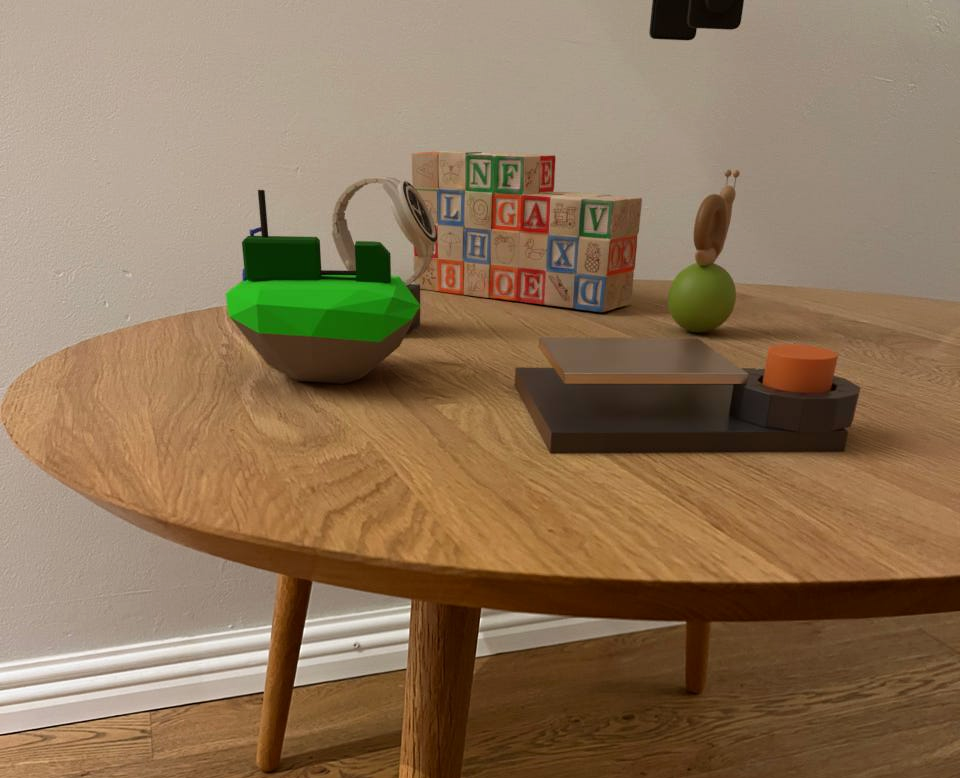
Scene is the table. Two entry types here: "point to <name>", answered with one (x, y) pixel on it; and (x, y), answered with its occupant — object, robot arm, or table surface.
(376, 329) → the floating island model
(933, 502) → the table surface
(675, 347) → the scale pan
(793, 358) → the tare button
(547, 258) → the stack of blocks
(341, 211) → the watch
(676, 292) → the snail figurine
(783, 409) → the scale
